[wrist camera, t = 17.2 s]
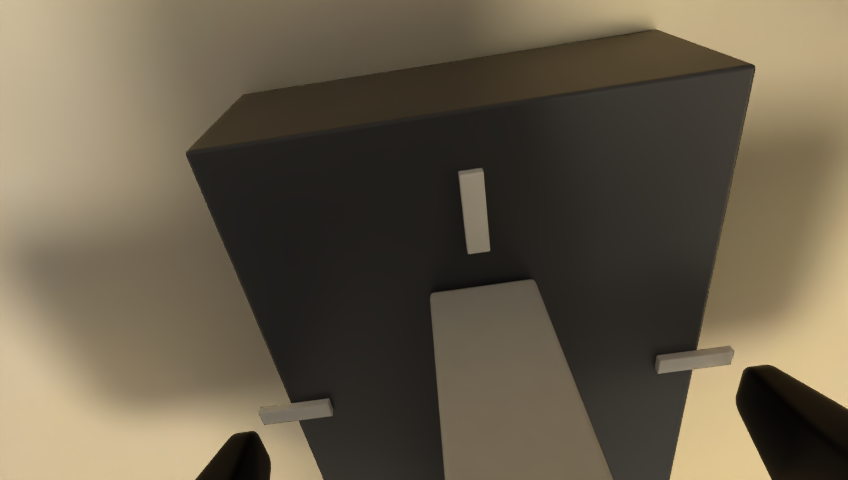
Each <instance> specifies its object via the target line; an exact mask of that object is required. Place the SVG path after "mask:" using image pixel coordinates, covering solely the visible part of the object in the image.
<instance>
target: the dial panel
mask: <svg viewBox="0 0 848 480" xmlns="http://www.w3.org/2000/svg"><path fill="white" fill-rule="evenodd" d="M754 73H755V66H754V65H753V64H750V63H747V62H744V61H742V60H739V59H736V58H733V57H731V56H728V55H725V54H722V53H720V52H717V51H714V50H711V49H709V48H706V47H703V46H700V45H698V44H695V43H692V42H689V41H687V40H684V39H681V38H678V37H676V36H673V35H670V34H667V33H665V32H662V31H659V30H653V31H646V32H640V33H634V34H627V35H621V36H615V37H608V38H602V39H595V40H589V41H583V42H576V43H570V44H564V45H557V46H551V47H544V48H538V49H532V50H525V51H519V52H512V53H506V54H500V55H493V56H487V57H481V58H474V59H468V60H461V61H455V62H449V63H442V64H436V65H430V66H423V67H417V68H410V69H404V70H398V71H391V72H385V73H378V74H372V75H366V76H359V77H353V78H347V79H340V80H334V81H327V82H321V83H315V84H308V85H302V86H296V87H289V88H283V89H276V90H270V91H264V92H257V93H251V94H244V95H242V96H241V97H240V98H239V99H238V100H237V101H236V102H235V103H234V104H233V105H232V106H231V107H230V108H229V109H228V110H227V111H226V112H225V113H224V114H223V115H222V116H221V117H220V118H219V119H218V120H217V121H216V122H215V123H214V124H213V125H212V126H211V127H210V128H209V129H208V130H207V131H206V132H205V133H204V134H203V135H202V136H201V137H200V138H199V139H198V140H197V141H196V142H195V143H194V144H193V145H192V146H191V147H190V148H189V149H188V150H187V151H186V156H187V159H188V161H189V163H190V166H191V168H192V170H193V173H194V175H195V177H196V180H197V182H198V184H199V187H200V189H201V192H202V194H203V196H204V199H205V201H206V203H207V206H208V208H209V210H210V213H211V215H212V217H213V220H214V222H215V225H216V227H217V229H218V232H219V234H220V236H221V239H222V241H223V243H224V246H225V248H226V250H227V253H228V255H229V257H230V260H231V262H232V265H233V267H234V269H235V272H236V274H237V276H238V279H239V281H240V283H241V286H242V288H243V290H244V293H245V295H246V298H247V300H248V302H249V305H250V307H251V309H252V312H253V314H254V316H255V319H256V321H257V323H258V326H259V328H260V330H261V333H262V335H263V338H264V340H265V342H266V345H267V347H268V349H269V352H270V354H271V356H272V359H273V361H274V363H275V366H276V368H277V371H278V373H279V375H280V378H281V380H282V382H283V385H284V387H285V389H286V392H287V394H288V396H289V399H290V401H291V403H290V404H282V405H274V406H267V407H261V408H260V411H259V415H260V417H261V419H262V421H263V423H264V425H267V424H275V423H283V422H290V421H298V420H299V422H300V425H301V427H302V429H303V432H304V434H305V436H306V439H307V441H308V444H309V446H310V448H311V451H312V453H313V455H314V458H315V460H316V462H317V465H318V467H319V469H320V472H321V474H322V476H323V479H324V480H445V474H444V462H443V450H442V438H441V426H440V413H439V401H438V389H437V377H436V365H435V353H434V341H433V329H432V317H431V305H430V296H431V294H432V293H434V292H441V291H448V290H456V289H463V288H470V287H477V286H485V285H492V284H499V283H506V282H513V281H521V280H528V279H532V280H534V281H535V282H536V284H537V287H538V290H539V292H540V295H541V297H542V300H543V302H544V305H545V307H546V310H547V313H548V315H549V318H550V320H551V323H552V325H553V328H554V330H555V333H556V335H557V338H558V341H559V343H560V346H561V348H562V351H563V353H564V356H565V358H566V361H567V364H568V366H569V369H570V371H571V374H572V376H573V379H574V381H575V384H576V386H577V389H578V392H579V394H580V397H581V399H582V402H583V404H584V407H585V409H586V412H587V415H588V417H589V420H590V422H591V425H592V427H593V430H594V432H595V435H596V437H597V440H598V443H599V445H600V448H601V450H602V453H603V455H604V458H605V460H606V463H607V466H608V468H609V471H610V473H611V476H612V478H613V480H669V479H670V475H671V470H672V465H673V460H674V455H675V451H676V446H677V441H678V436H679V432H680V427H681V422H682V417H683V412H684V408H685V403H686V398H687V393H688V388H689V384H690V379H691V374H692V369H699V368H707V367H715V366H722V365H730V364H731V362H732V358H733V355H734V350H733V349H732V348H731V347H730V346H724V347H717V348H709V349H701V350H697V345H698V341H699V336H700V331H701V326H702V321H703V317H704V312H705V307H706V302H707V298H708V293H709V288H710V283H711V278H712V274H713V269H714V264H715V259H716V254H717V250H718V245H719V240H720V235H721V231H722V226H723V221H724V216H725V211H726V207H727V202H728V197H729V192H730V187H731V183H732V178H733V173H734V168H735V164H736V159H737V154H738V149H739V144H740V140H741V135H742V130H743V125H744V120H745V116H746V111H747V106H748V101H749V97H750V92H751V87H752V82H753V77H754Z"/></svg>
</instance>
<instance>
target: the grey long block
mask: <svg viewBox="0 0 848 480" xmlns="http://www.w3.org/2000/svg"><path fill="white" fill-rule="evenodd" d="M430 305H431V317H432V329H433V341H434V353H435V365H436V377H437V389H438V401H439V413H440V426H441V438H442V450H443V462H444V474H445V480H613V478H612V476H611V473H610V471H609V468H608V466H607V463H606V460H605V458H604V455H603V453H602V450H601V448H600V445H599V443H598V440H597V437H596V435H595V432H594V430H593V427H592V425H591V422H590V420H589V417H588V415H587V412H586V409H585V407H584V404H583V402H582V399H581V397H580V394H579V392H578V389H577V386H576V384H575V381H574V379H573V376H572V374H571V371H570V369H569V366H568V364H567V361H566V358H565V356H564V353H563V351H562V348H561V346H560V343H559V341H558V338H557V335H556V333H555V330H554V328H553V325H552V323H551V320H550V318H549V315H548V313H547V310H546V307H545V305H544V302H543V300H542V297H541V295H540V292H539V290H538V287H537V284H536V282H535V281H534V280H532V279H528V280H521V281H513V282H506V283H499V284H492V285H485V286H477V287H470V288H463V289H456V290H448V291H441V292H434V293H432V294H431V296H430Z"/></svg>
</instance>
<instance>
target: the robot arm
mask: <svg viewBox="0 0 848 480" xmlns="http://www.w3.org/2000/svg"><path fill="white" fill-rule="evenodd" d="M736 405H737V409H738V411H739V413H740V415H741V418H742V420H743V422H744V424H745V426H746V428H747V430H748V432H749V434H750V436H751V438H752V440H753V442H754V444H755V446H756V448H757V450H758V452H759V455H760V457H761V459H762V461H763V463H764V465H765V467H766V469H767V471H768V473H769V475H770V477H771V479H772V480H848V409H847V408H845V407H843V406H842V405H840V404H838V403H836V402H835V401H833V400H831V399H830V398H828V397H826V396H824V395H823V394H821V393H819V392H817V391H816V390H814V389H812V388H810V387H809V386H807V385H805V384H804V383H802V382H800V381H798V380H797V379H795V378H793V377H791V376H790V375H788V374H786V373H785V372H783V371H781V370H779V369H778V368H776V367H774V366H771V365H760V366H753V367H747V368H746V369H745V370H744V371H743V374H742V377H741V381H740V384H739V387H738V391H737V394H736ZM270 473H271V462H270V457H269V455H268V453H267V451H266V449H265V447H264V445H263V443H262V441H261V439H260V437H259V435H258V434H257V433H256V432H254V431H249V432H242V433H236V434H234V435H232V436H231V437H230V438H229V439H228V441H227V442H226V443H225V444H224V445H223V447H222V448H221V449H220V450H219V451H218V453H217V454H216V455H215V456H214V458H213V459H212V460H211V461H210V462H209V464H208V465H207V466H206V467H205V469H204V470H203V471H202V472H201V473H200V475H199V476H198V477H197V478H196V479H195V480H270Z"/></svg>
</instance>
